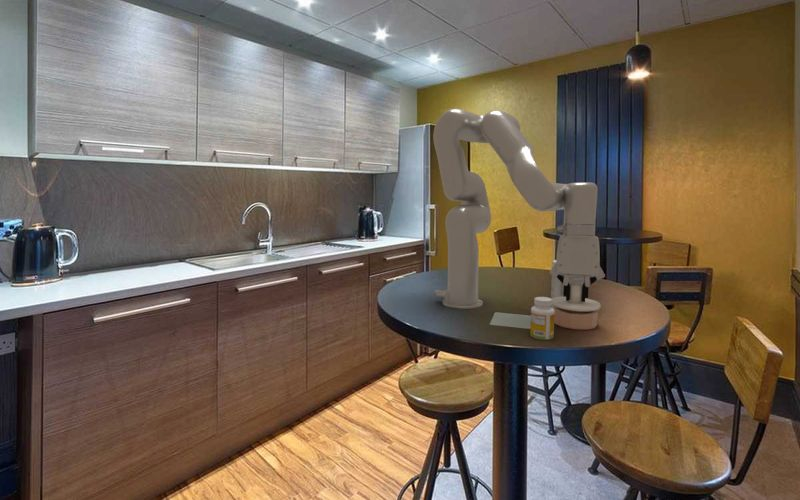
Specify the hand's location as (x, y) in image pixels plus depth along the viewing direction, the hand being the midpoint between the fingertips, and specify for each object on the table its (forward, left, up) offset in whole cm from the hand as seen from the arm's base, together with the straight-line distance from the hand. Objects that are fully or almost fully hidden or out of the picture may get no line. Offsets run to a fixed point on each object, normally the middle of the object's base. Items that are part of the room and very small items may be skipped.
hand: (575, 299), depth 103 cm
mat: (-15, -3, -7) cm, 17 cm away
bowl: (0, 0, -7) cm, 7 cm away
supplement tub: (-1, +16, -7) cm, 18 cm away
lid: (0, 0, -2) cm, 2 cm away
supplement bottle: (-8, -13, -7) cm, 17 cm away
